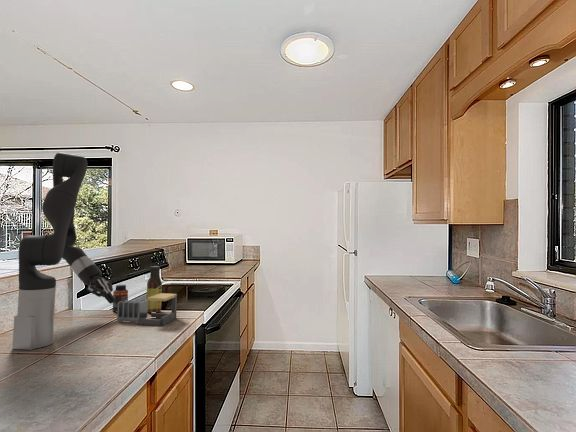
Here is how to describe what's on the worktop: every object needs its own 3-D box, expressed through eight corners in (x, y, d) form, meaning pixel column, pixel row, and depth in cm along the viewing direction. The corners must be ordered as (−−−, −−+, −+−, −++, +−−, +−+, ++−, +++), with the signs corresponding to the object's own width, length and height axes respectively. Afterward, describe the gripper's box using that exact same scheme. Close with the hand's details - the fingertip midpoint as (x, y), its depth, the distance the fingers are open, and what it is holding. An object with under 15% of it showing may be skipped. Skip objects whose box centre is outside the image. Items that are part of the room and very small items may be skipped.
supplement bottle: (130, 309, 155) (131, 284, 156) (122, 312, 149) (123, 286, 150) (117, 309, 156) (118, 283, 156) (109, 312, 150) (110, 285, 150)
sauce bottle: (161, 313, 150) (163, 266, 151) (145, 314, 147) (147, 267, 148) (160, 310, 156) (162, 265, 157) (145, 310, 153) (147, 265, 154)
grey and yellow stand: (163, 325, 130) (164, 298, 130) (137, 324, 131) (138, 297, 131) (176, 318, 141) (177, 293, 141) (152, 317, 142) (153, 292, 142)
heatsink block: (138, 323, 133) (139, 303, 134) (116, 322, 134) (117, 302, 135) (146, 319, 139) (147, 300, 140) (125, 318, 140) (126, 299, 141)
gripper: (81, 265, 134) (109, 298, 132) (103, 262, 147) (129, 292, 145) (67, 278, 134) (95, 312, 132) (91, 274, 147) (116, 304, 145)
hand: (113, 301), depth 138 cm, fingers closed
